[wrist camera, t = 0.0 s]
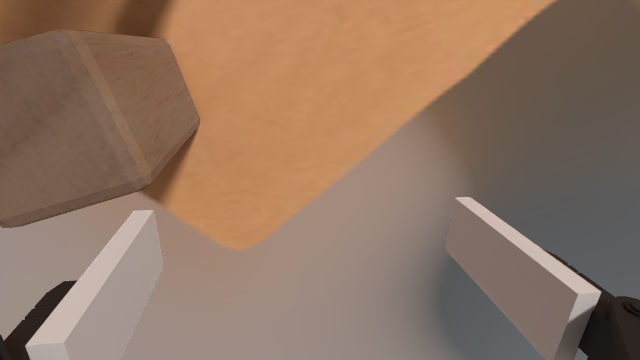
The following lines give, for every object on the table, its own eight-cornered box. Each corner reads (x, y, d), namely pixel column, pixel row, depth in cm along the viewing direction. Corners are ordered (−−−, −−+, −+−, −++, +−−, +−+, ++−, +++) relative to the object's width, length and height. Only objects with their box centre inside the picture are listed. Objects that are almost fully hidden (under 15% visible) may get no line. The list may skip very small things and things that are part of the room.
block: (204, 124, 40) (153, 191, 21) (121, 149, 39) (-5, 238, 21) (168, 35, 36) (67, 22, 17) (75, 61, 35) (-131, 75, 17)
